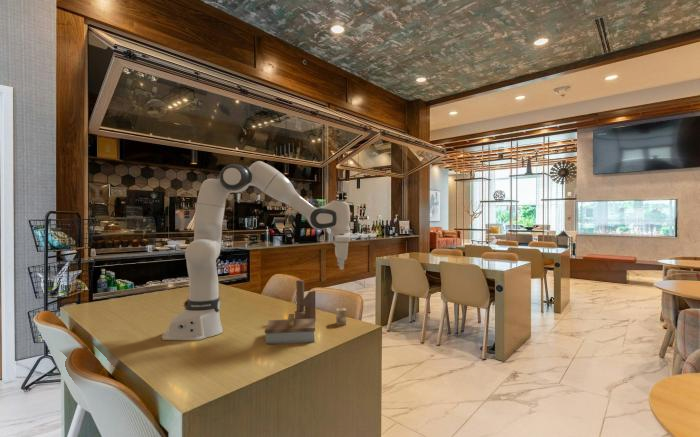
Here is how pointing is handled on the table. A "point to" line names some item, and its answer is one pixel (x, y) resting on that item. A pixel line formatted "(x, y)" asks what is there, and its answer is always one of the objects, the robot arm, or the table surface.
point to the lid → (290, 325)
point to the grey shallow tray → (289, 337)
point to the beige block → (340, 316)
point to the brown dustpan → (304, 302)
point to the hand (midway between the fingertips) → (340, 267)
